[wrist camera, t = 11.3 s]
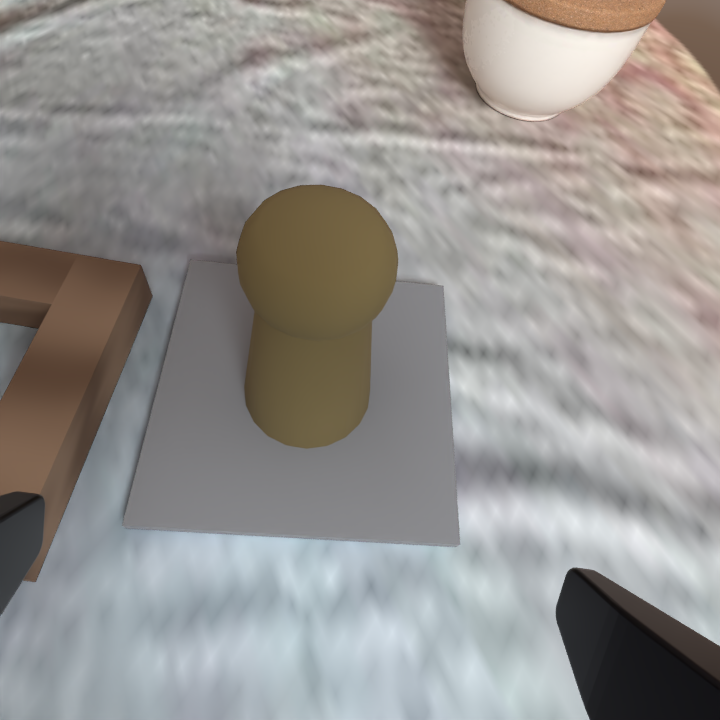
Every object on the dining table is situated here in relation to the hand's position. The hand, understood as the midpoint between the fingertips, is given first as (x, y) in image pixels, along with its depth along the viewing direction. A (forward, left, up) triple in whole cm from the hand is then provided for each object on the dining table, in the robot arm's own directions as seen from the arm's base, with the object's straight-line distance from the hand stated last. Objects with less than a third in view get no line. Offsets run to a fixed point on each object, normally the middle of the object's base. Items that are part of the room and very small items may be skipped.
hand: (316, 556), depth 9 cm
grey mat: (+10, +1, -14) cm, 17 cm away
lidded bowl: (+39, -11, -14) cm, 43 cm away
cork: (+10, +1, -13) cm, 16 cm away
